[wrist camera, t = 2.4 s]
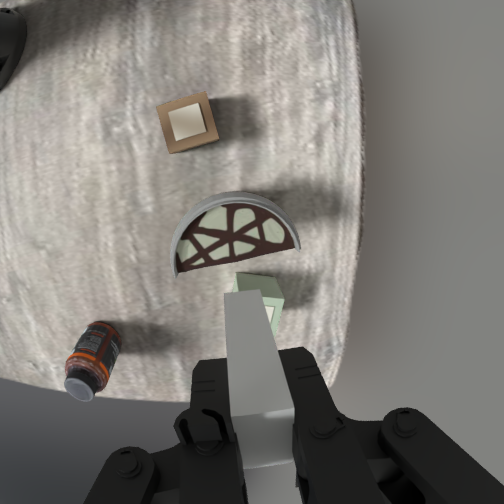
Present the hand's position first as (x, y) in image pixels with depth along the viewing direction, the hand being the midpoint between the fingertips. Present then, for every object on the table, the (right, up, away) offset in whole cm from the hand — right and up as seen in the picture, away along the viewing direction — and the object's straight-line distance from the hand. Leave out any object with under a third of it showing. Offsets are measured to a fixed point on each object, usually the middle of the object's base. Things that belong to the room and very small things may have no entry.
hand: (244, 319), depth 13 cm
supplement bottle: (-21, -9, +26) cm, 35 cm away
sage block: (0, -2, +26) cm, 26 cm away
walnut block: (-6, +17, +18) cm, 26 cm away
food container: (-3, +8, +22) cm, 24 cm away
